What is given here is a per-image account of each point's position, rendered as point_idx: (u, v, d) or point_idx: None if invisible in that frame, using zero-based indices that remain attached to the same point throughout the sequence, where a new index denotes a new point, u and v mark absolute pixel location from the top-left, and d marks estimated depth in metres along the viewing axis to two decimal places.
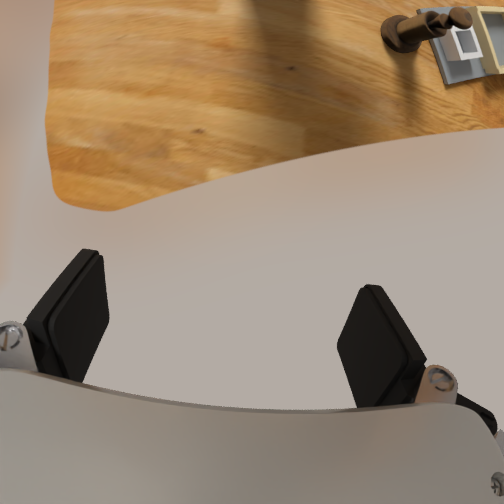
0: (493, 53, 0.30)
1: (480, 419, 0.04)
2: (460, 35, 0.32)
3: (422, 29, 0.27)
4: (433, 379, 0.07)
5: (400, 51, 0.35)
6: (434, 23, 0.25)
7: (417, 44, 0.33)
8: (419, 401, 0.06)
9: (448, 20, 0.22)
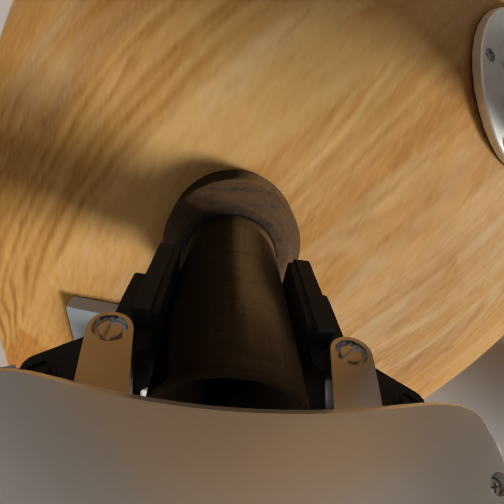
0: None
1: (480, 419, 0.04)
2: None
3: (216, 329, 0.07)
4: (343, 354, 0.07)
5: (177, 201, 0.14)
6: None
7: None
8: (337, 384, 0.06)
9: None
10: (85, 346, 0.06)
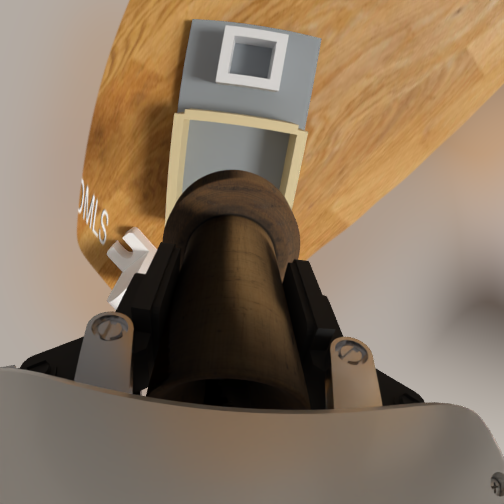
0: (214, 115, 0.27)
1: (480, 419, 0.04)
2: None
3: (217, 329, 0.07)
4: (343, 354, 0.07)
5: (177, 201, 0.14)
6: None
7: None
8: (337, 384, 0.06)
9: None
10: (85, 346, 0.06)
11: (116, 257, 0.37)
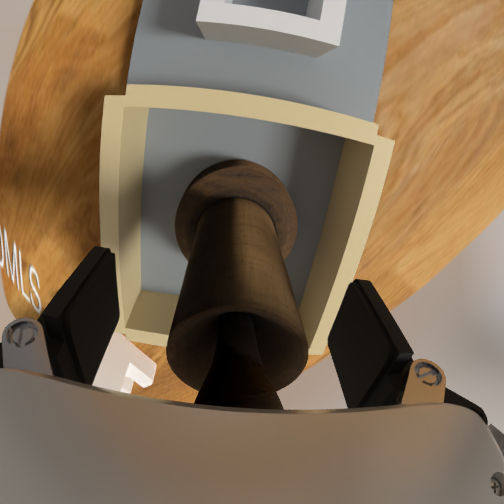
0: (191, 96, 0.11)
1: (480, 419, 0.04)
2: None
3: (230, 276, 0.08)
4: (420, 373, 0.07)
5: (187, 187, 0.16)
6: (241, 356, 0.07)
7: (189, 249, 0.16)
8: (407, 397, 0.06)
9: None
10: None
11: None
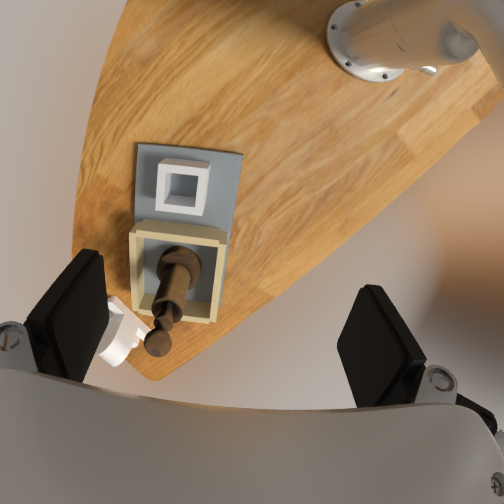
0: (157, 235, 0.39)
1: (480, 419, 0.04)
2: (192, 198, 0.40)
3: (165, 292, 0.36)
4: (433, 379, 0.07)
5: (160, 257, 0.43)
6: (166, 309, 0.35)
7: (161, 280, 0.43)
8: (419, 401, 0.06)
9: (160, 327, 0.32)
10: None
11: None
